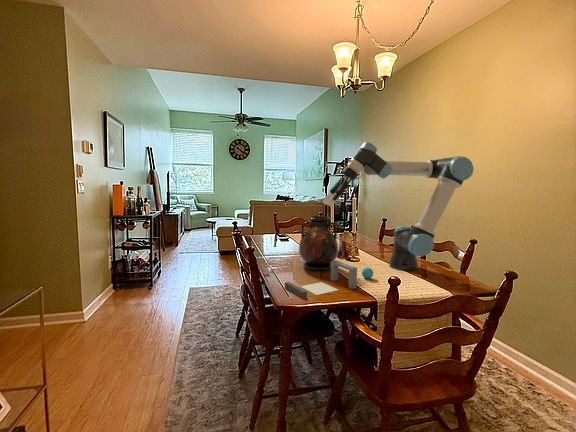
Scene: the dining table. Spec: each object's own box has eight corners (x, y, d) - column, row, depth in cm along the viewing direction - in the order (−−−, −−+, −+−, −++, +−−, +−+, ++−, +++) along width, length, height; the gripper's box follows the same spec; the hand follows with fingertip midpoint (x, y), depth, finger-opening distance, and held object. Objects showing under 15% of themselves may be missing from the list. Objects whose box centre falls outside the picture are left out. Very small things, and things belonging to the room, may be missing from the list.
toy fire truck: (338, 259, 191) (339, 242, 190) (334, 254, 203) (334, 238, 202) (349, 259, 191) (350, 242, 190) (344, 254, 204) (345, 238, 203)
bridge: (335, 278, 152) (335, 260, 151) (356, 287, 140) (357, 267, 139) (330, 279, 151) (331, 261, 149) (351, 288, 138) (352, 268, 137)
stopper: (288, 287, 139) (288, 281, 138) (306, 297, 127) (306, 291, 127) (284, 287, 138) (284, 282, 137) (302, 298, 126) (302, 292, 126)
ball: (367, 276, 157) (367, 265, 157) (375, 279, 153) (376, 268, 152) (359, 277, 155) (359, 266, 154) (367, 280, 150) (368, 269, 149)
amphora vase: (336, 263, 181) (338, 215, 178) (338, 274, 159) (340, 220, 156) (299, 261, 183) (300, 214, 180) (297, 272, 161) (298, 219, 158)
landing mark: (321, 282, 146) (321, 282, 146) (338, 290, 136) (338, 289, 136) (300, 286, 140) (300, 286, 140) (316, 295, 130) (316, 294, 130)
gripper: (340, 166, 166) (317, 198, 168) (353, 164, 142) (324, 201, 143) (351, 175, 167) (327, 206, 168) (365, 174, 142) (337, 211, 144)
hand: (326, 204), depth 156 cm, fingers open, 13 cm apart
